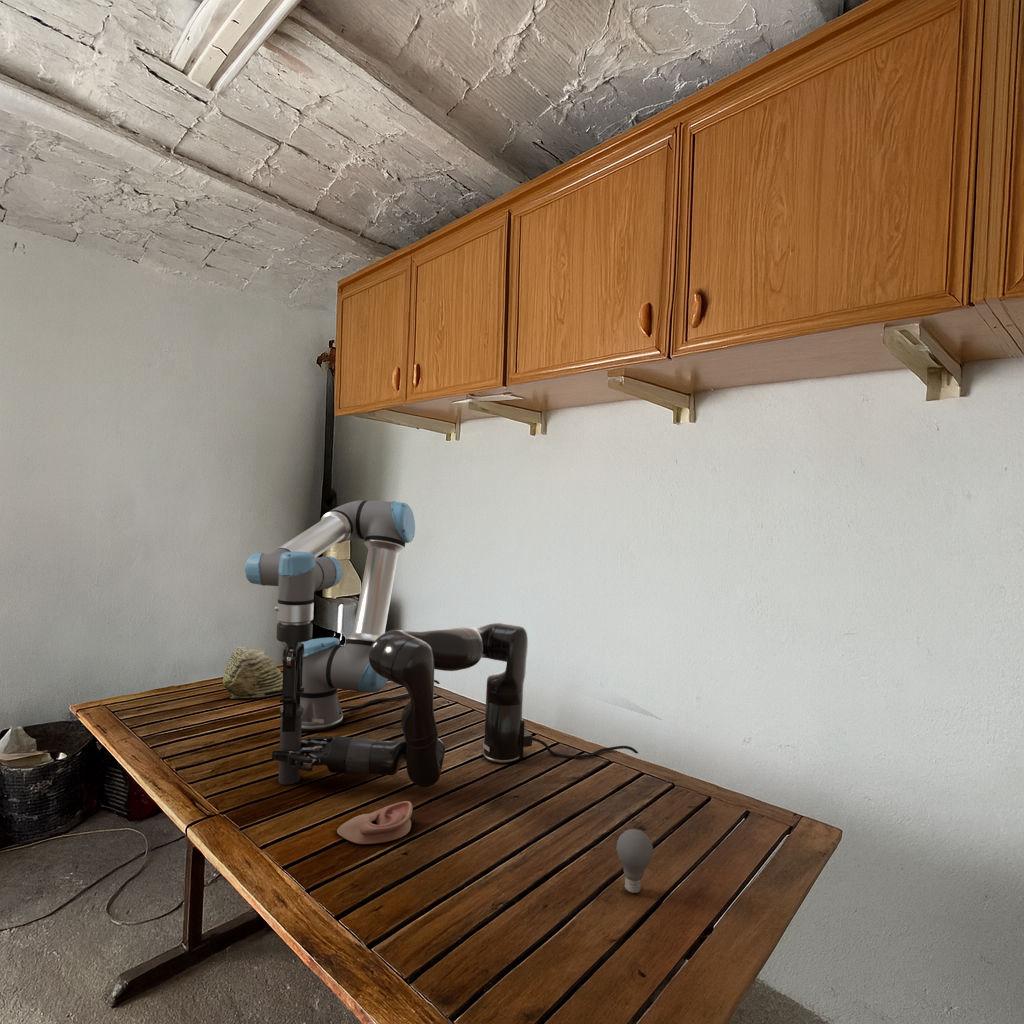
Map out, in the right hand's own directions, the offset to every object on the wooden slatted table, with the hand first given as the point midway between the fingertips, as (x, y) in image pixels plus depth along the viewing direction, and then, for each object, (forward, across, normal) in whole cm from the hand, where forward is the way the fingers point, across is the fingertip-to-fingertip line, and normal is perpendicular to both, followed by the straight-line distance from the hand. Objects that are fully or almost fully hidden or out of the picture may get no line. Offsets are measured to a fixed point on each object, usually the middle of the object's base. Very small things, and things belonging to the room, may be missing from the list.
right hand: (278, 750), depth 141 cm
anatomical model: (-27, +18, +7) cm, 33 cm away
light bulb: (-75, +30, +7) cm, 81 cm away
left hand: (-3, 0, -6) cm, 6 cm away
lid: (-3, 0, -10) cm, 10 cm away
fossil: (+32, -55, +7) cm, 64 cm away
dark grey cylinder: (-3, 0, +7) cm, 7 cm away
